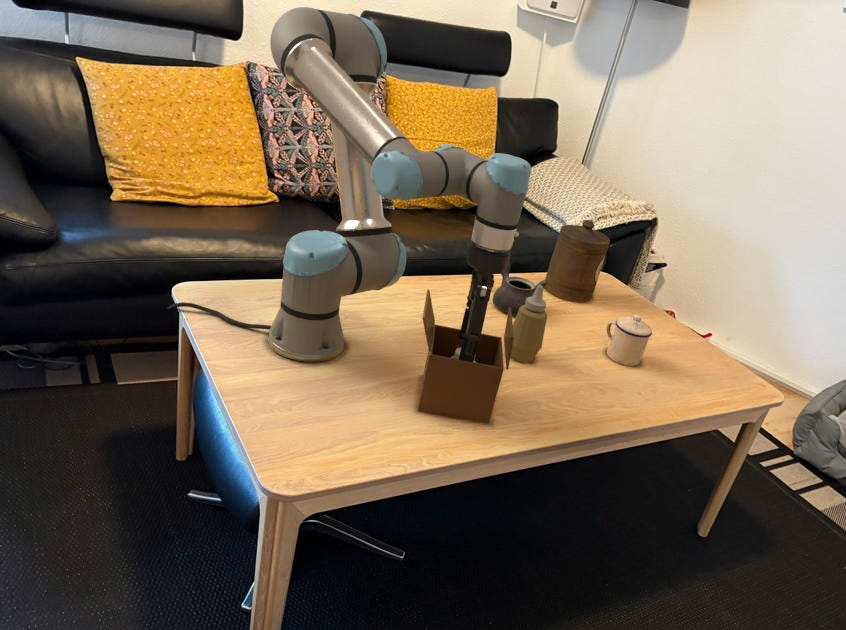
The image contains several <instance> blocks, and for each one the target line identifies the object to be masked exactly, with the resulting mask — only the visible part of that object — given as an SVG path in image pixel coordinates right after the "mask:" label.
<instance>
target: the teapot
mask: <svg viewBox="0 0 846 630" xmlns="http://www.w3.org/2000/svg"><path fill="white" fill-rule="evenodd" d="M511 268H512V263H511V261H510V259H509V262H508V266H507V269H506V270H505V271H504V272H502V273H500V275H501V277H502V280H501V285H500V286H499V287H498V288H496V290H495V291H494V293H493V295H492V303H493V305H494V306H495V307H496V308H498V309H499V310H501V311H503V312H505V313H506V314H508V310H509V307H510V308H511V314H512V315H513V316H517V313H518V311H519V308H520V307H521V306H523V305H525V302H526V299H527V298H528V297H532V296H533V294H534V292H535V290H536V288H537V287H538V285H541V286H543V289H545V287H544V286H545V285H546V284H547V283H546V281H545V279H543V280H541V281H539V283H537V284H535V283H534V282H533V281H531V280H530V279H527V278H524V277H520V276H510V272H511Z"/></svg>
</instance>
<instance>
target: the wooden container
mask: <svg viewBox="0 0 846 630" xmlns="http://www.w3.org/2000/svg"><path fill="white" fill-rule="evenodd" d="M610 243H611V239H610V238H609V237H608V236H607V235H606V234H605V233H603V232H601V231H598V230H597V229H595V223H594V222H593V221H592V220H589V219H586V220H584V221H583V222H582V225H577V224H564V225H562V226H561V227H560V230H559V233H558V236H557V240H556V243H555V245H554V249H553V252H552V255H551V258H550V262H549V266H548V268H547V272H546V276H545V279H544V280H545V281H546V283H547V284H546V285H545V286H544V289H545V290H546V291H547V292H548V293H550V294H551V295H553V296H555V297H557V298H560V299H562V300H565V301H569V302H574V303H586V302H589V301H591V300H592V298H593V296H594V293H595V290H596V286H597V285H598V281H599V278H600V274H601V271H602V268H603V265H604V262H605V258H606V255H607V252H608V249H609V247H610Z"/></svg>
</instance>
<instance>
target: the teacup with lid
mask: <svg viewBox="0 0 846 630" xmlns="http://www.w3.org/2000/svg"><path fill="white" fill-rule="evenodd" d="M612 325H614V326H615V327H614V329H613V331H612V333H611V327H612ZM605 334H606V336H607V338H608V340H610V341H609V343H608V346H607V350H606V354H607V356H608V357H609V358H610V359H611V360H612V361H614V362H616V363H618V364H621V365H624V366H629V367H630V366H631V367H632V366H633V367H634V366H638V365H639V364H640V363H641V361H642V358H643V355H644V353H645V350H646V347H647V345H648V342H649V340H650V337H651V336H652V335H653V330H652V328H651V326H650V325H649V324H647V323H646V322H645V321H644V320H643V319H642V316H641V315H639V314H634V315H633V316H630V317H629V316H622V317H619V318H618V319H616V320H611V321H609V322H607V324H606V327H605Z"/></svg>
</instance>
